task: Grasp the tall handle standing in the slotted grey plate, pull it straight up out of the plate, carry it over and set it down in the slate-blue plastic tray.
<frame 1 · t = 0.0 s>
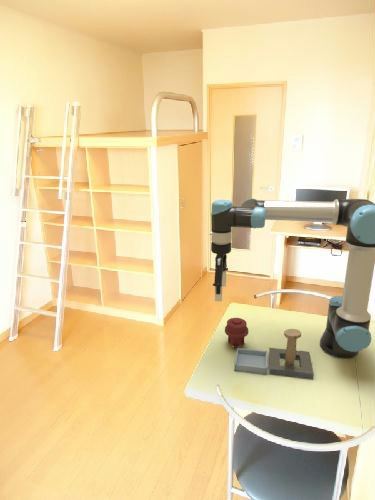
hand: (220, 293, 139), 28 cm above the table, fingers open, 13 cm apart
slotted grey plate: (289, 365, 140), on the table
tray: (251, 364, 141), on the table
handle: (289, 365, 140), resting in slotted grey plate
mechanical component: (235, 345, 154), on the table
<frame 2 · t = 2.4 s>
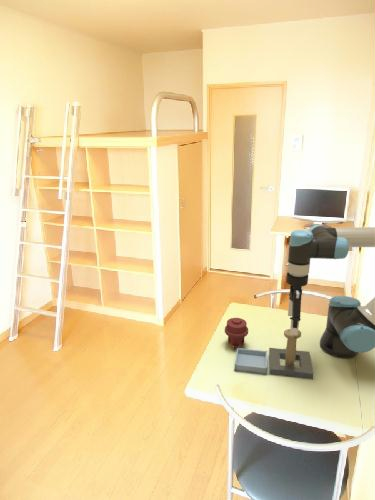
hand: (292, 324, 134), 18 cm above the table, fingers open, 13 cm apart
nothing on the table moved.
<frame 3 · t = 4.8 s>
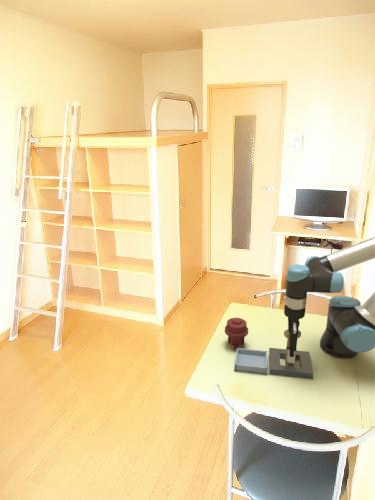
hand: (290, 358, 139), 3 cm above the table, fingers closed on handle, 4 cm apart
handle: (289, 365, 140), resting in slotted grey plate, touching gripper
everything else where it was.
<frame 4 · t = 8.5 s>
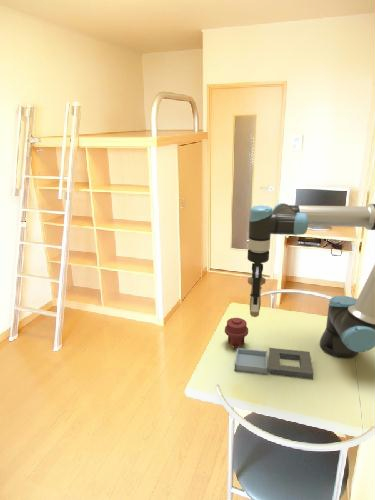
hand: (254, 308, 133), 25 cm above the table, fingers closed on handle, 4 cm apart
handle: (254, 315, 134), point 22 cm above the table, touching gripper
everything else where it was.
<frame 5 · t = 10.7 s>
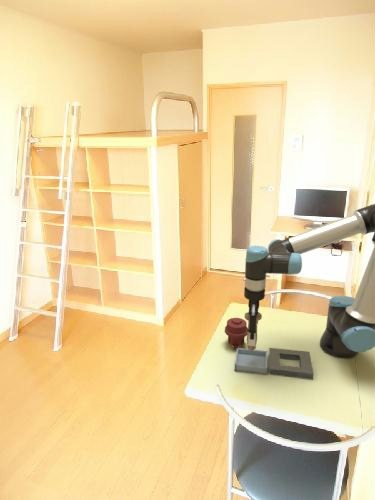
hand: (251, 341, 138), 10 cm above the table, fingers closed on handle, 4 cm apart
handle: (251, 349, 139), point 7 cm above the table, touching gripper
everything else where it was.
when the fingers open (6 cm above the table, at t = 12.2 s): handle drops 2 cm, resting on tray.
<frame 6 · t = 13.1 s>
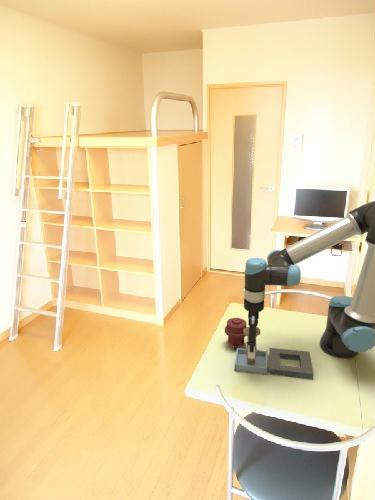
hand: (251, 347, 139), 8 cm above the table, fingers open, 13 cm apart
handle: (251, 362, 141), point 1 cm above the table, touching tray
everything else where it was.
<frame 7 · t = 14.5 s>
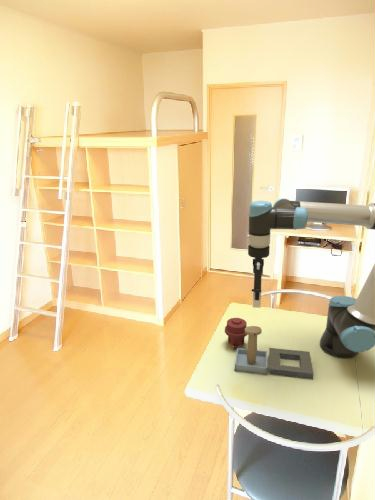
hand: (256, 298, 133), 29 cm above the table, fingers open, 13 cm apart
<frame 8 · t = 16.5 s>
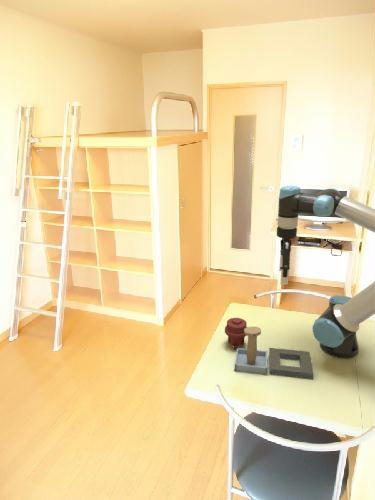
hand: (283, 277, 144), 32 cm above the table, fingers open, 13 cm apart
nothing on the table moved.
at the end: handle inside the target area on the tray (0.1 cm from its centre), point 0.6 cm above the tray's base; the gripper is holding nothing; handle moved 15.1 cm from its start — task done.
